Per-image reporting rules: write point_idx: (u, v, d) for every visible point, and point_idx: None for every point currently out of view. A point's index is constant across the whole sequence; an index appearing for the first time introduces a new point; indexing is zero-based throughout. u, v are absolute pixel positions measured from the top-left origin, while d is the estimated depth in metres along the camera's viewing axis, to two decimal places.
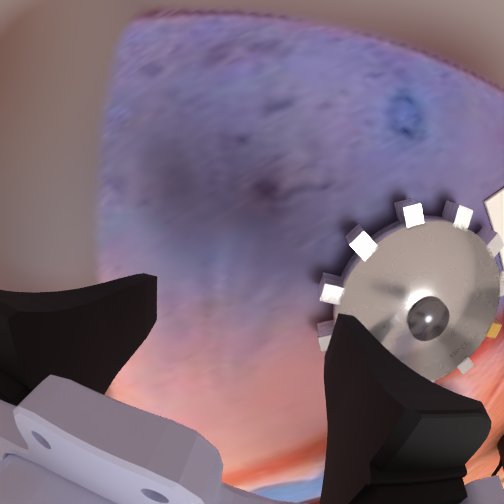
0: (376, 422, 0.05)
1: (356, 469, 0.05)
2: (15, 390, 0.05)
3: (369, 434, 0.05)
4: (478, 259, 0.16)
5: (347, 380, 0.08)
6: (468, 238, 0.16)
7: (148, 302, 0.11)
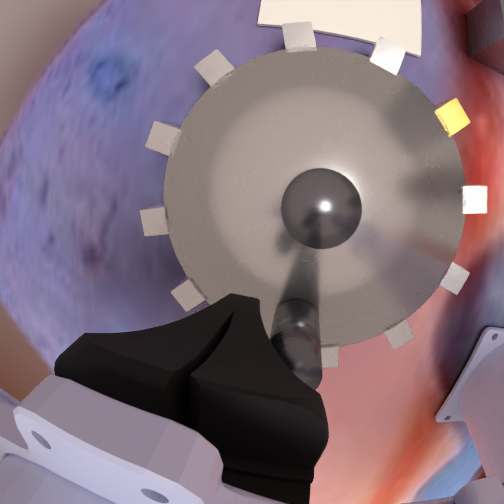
0: None
1: None
2: None
3: None
4: (296, 72, 0.10)
5: None
6: (249, 73, 0.11)
7: None
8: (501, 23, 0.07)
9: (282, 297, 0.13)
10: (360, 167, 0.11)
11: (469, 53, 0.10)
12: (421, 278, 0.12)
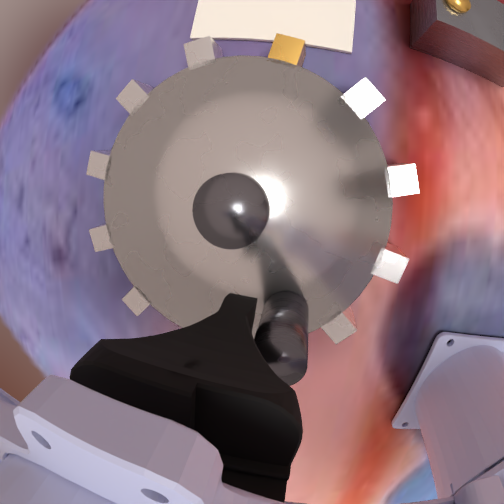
0: None
1: None
2: None
3: None
4: (147, 125, 0.12)
5: None
6: (120, 151, 0.13)
7: (251, 326, 0.11)
8: (434, 6, 0.08)
9: (261, 300, 0.14)
10: (240, 155, 0.12)
11: (410, 44, 0.11)
12: (368, 203, 0.12)
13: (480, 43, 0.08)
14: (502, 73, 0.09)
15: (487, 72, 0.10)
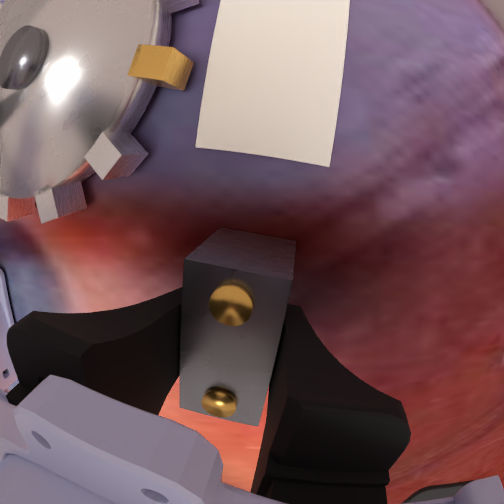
0: (278, 411, 0.05)
1: (264, 460, 0.05)
2: None
3: (274, 423, 0.05)
4: None
5: (278, 370, 0.08)
6: None
7: None
8: (215, 262, 0.09)
9: None
10: (58, 48, 0.08)
11: (224, 229, 0.12)
12: (28, 174, 0.10)
13: None
14: None
15: None
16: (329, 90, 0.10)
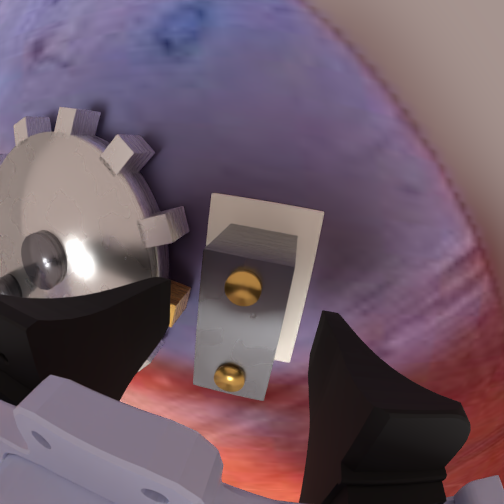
0: (348, 420, 0.05)
1: (330, 468, 0.05)
2: None
3: (342, 432, 0.05)
4: (90, 178, 0.12)
5: (327, 378, 0.08)
6: (72, 147, 0.12)
7: (162, 306, 0.11)
8: (230, 251, 0.10)
9: (12, 272, 0.15)
10: (76, 265, 0.13)
11: (234, 225, 0.14)
12: None
13: None
14: None
15: None
16: (293, 316, 0.15)
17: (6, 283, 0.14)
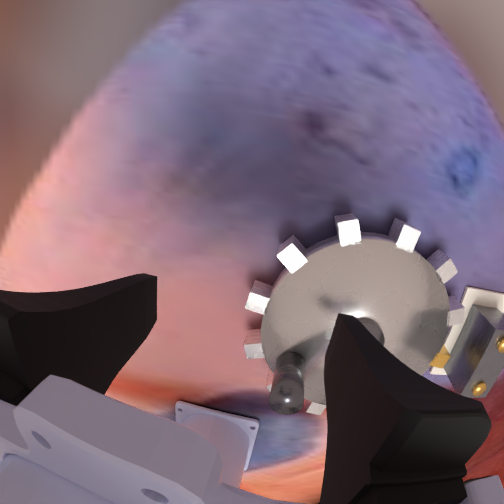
0: (376, 422, 0.05)
1: (356, 469, 0.05)
2: (15, 390, 0.05)
3: (369, 434, 0.05)
4: (424, 284, 0.17)
5: (347, 380, 0.08)
6: (413, 260, 0.17)
7: (148, 302, 0.11)
8: (502, 328, 0.15)
9: (297, 350, 0.20)
10: (390, 341, 0.18)
11: (475, 305, 0.19)
12: None
13: (478, 355, 0.16)
14: (455, 368, 0.19)
15: (455, 357, 0.19)
16: None
17: (300, 362, 0.19)
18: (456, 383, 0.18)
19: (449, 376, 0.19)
